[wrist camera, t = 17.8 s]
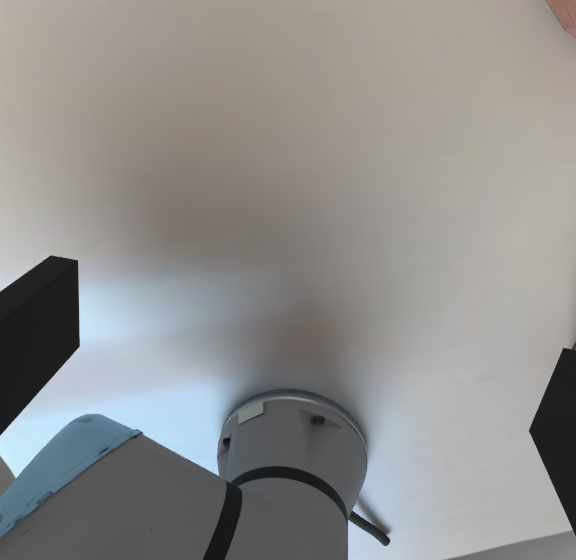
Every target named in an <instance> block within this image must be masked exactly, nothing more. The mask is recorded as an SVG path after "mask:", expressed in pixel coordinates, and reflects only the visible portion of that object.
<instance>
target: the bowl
mask: <svg viewBox="0 0 576 560" xmlns="http://www.w3.org/2000/svg"><path fill="white" fill-rule="evenodd" d="M546 1H547V2H548V4H549V6H550V7H551V9H552V11H553V12H554V14H555V16H556V17H557V19H558V21H559V22H560V24H561V26H562V27H563V28H564V29H565V30H566V31H567V32H569V33H570V34H571V35H573V36H574V37H575V38H576V0H546Z"/></svg>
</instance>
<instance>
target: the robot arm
mask: <svg viewBox="0 0 576 560" xmlns="http://www.w3.org/2000/svg"><path fill="white" fill-rule="evenodd" d="M79 347H80V339H79V287H78V260H73V259H68V258H62V257H56V256H49V257H48V258H47V259H45V260H44V261H42V262H41V263H40V264H38V265H37V266H35V267H34V268H33V269H31V270H30V271H28V272H27V273H26V274H24V275H23V276H21V277H20V278H19V279H17V280H16V281H14V282H13V283H12V284H10V285H9V286H7V287H6V288H5V289H3V290H2V291H1V292H0V435H1V434H2V433H3V432H4V431H5V430H6V428H7V427H8V426H9V425H10V424H11V423H12V422H13V421H14V419H15V418H16V417H17V416H18V415H19V414H20V413H21V412H22V411H23V409H24V408H25V407H26V406H27V405H28V404H29V403H30V402H31V400H32V399H33V398H34V397H35V396H36V395H37V394H38V393H39V391H40V390H41V389H42V388H43V387H44V386H45V385H46V384H47V382H48V381H49V380H50V379H51V378H52V377H53V376H54V375H55V373H56V372H57V371H58V370H59V369H60V368H61V367H62V366H63V364H64V363H65V362H66V361H67V360H68V359H69V358H70V357H71V356H72V354H73V353H74V352H75V351H76V350H77V349H78V348H79ZM529 432H530V434H531V436H532V438H533V441H534V443H535V445H536V447H537V450H538V452H539V454H540V456H541V459H542V461H543V463H544V465H545V468H546V470H547V472H548V474H549V477H550V479H551V481H552V483H553V486H554V488H555V490H556V493H557V495H558V497H559V499H560V502H561V504H562V506H563V508H564V511H565V513H566V515H567V517H568V520H569V522H570V524H571V526H572V529H573V531H574V533H575V535H576V350H572V349H567V348H563V350H562V353H561V355H560V357H559V360H558V362H557V365H556V367H555V369H554V372H553V374H552V377H551V379H550V381H549V384H548V386H547V389H546V391H545V393H544V396H543V398H542V400H541V403H540V405H539V408H538V410H537V412H536V415H535V417H534V420H533V422H532V424H531V427H530V429H529ZM217 462H218V471H219V476H218V475H216V474H214V473H212V472H210V471H208V470H207V469H205V468H203V467H201V466H199V465H197V464H195V463H194V462H192V461H190V460H188V459H186V458H184V457H182V456H181V455H179V454H177V453H175V452H173V451H171V450H169V449H168V448H166V447H164V446H162V445H160V444H158V443H157V442H155V441H153V440H151V439H150V438H148V437H146V436H144V435H143V432H141V431H140V430H138V429H136V430H133V429H131V428H129V427H126V426H124V425H122V424H120V423H118V422H116V421H113V420H111V419H109V418H107V417H105V416H103V415H99V414H87V415H83V416H80V417H78V418H76V419H74V420H73V421H72V422H70V423H69V424H68V425H66V426H65V427H64V428H63V429H62V430H61V431H60V432H59V433H58V434H56V435H55V436H54V437H53V438H52V439H51V440H50V441H49V443H48V444H47V445H46V446H45V447H44V448H43V449H42V450H41V451H40V452H39V453H38V454H37V455H36V456H35V458H34V459H33V460H32V461H31V462H30V463H29V464H28V465H27V467H26V468H25V469H24V470H23V471H22V472H21V473H20V475H19V476H18V477H17V478H16V479H15V481H14V482H13V483H12V484H11V486H10V487H9V488H8V489H7V490H6V492H5V493H4V494H3V495H2V497H1V498H0V560H348V520H350V521H351V522H353V523H354V524H355V525H357V526H358V527H360V528H362V529H363V530H365V531H366V532H368V533H370V534H371V535H372V536H374V537H375V538H376V539H378V540H379V541H380V542H381V543H382V544H383V545H384V546H387V545H388V544H389V543H390V539H389V538H388V537H387V536H386V535H385V534H384V533H383V532H382V531H381V530H380V529H378V528H377V527H376V526H374V525H373V524H371V523H370V522H368V521H366V520H365V519H363V518H362V517H360V516H359V515H358V514H356V513H355V512H353V511H352V509H353V507H354V504H355V502H356V500H357V497H358V495H359V492H360V491H361V488H362V486H363V483H364V480H365V476H366V471H367V448H366V442H365V439H364V436H363V434H362V432H361V430H360V428H359V426H358V425H357V423H356V422H355V421H354V419H353V418H352V417H351V416H350V415H349V414H348V413H347V412H346V411H345V410H343V409H342V408H341V407H339V406H338V405H336V404H335V403H333V402H331V401H329V400H327V399H325V398H323V397H320V396H318V395H315V394H311V393H307V392H302V391H294V390H280V391H272V392H267V393H263V394H260V395H257V396H255V397H253V398H251V399H249V400H247V401H245V402H244V403H242V404H241V405H240V406H238V407H237V408H236V409H235V410H234V411H233V412H232V413H231V415H230V416H229V417H228V419H227V421H226V423H225V425H224V427H223V430H222V433H221V436H220V439H219V443H218V453H217Z"/></svg>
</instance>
